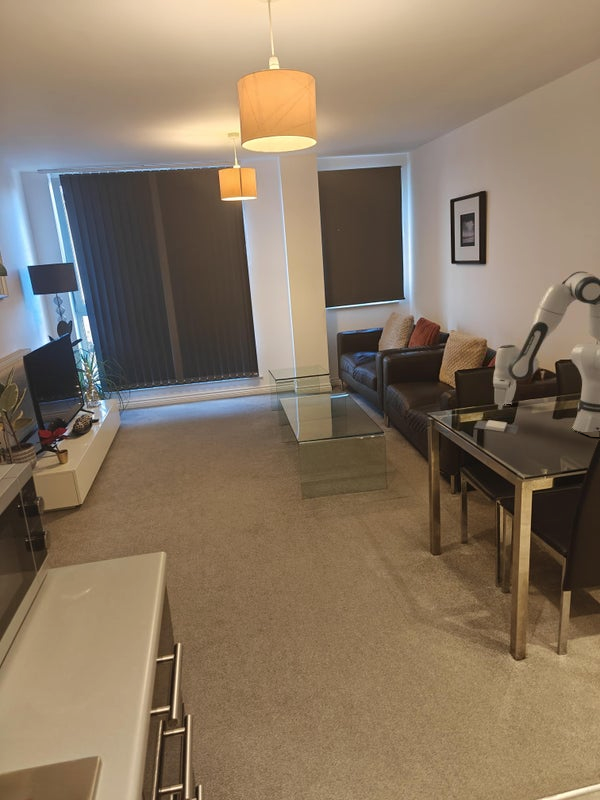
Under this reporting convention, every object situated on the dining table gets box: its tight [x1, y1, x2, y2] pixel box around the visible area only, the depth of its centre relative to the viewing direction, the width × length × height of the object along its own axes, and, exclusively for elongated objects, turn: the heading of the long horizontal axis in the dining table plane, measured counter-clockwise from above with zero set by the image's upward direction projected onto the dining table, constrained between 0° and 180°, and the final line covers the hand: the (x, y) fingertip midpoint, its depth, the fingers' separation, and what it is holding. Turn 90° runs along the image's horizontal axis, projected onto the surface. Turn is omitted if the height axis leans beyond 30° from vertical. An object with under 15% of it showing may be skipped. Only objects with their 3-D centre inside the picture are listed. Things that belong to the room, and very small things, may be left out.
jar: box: [503, 380, 517, 406], centre depth 278 cm, size 11×10×15 cm
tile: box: [484, 419, 508, 433], centre depth 242 cm, size 8×2×9 cm
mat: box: [473, 419, 519, 435], centre depth 243 cm, size 18×12×1 cm, turn 63°
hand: (500, 408), depth 247 cm, fingers closed
